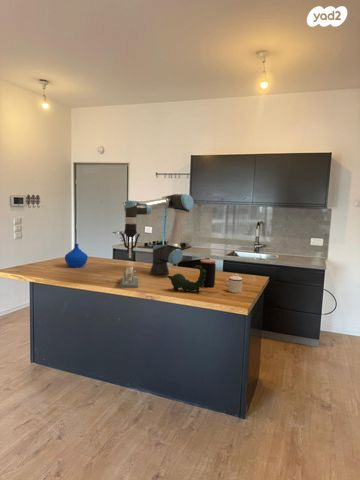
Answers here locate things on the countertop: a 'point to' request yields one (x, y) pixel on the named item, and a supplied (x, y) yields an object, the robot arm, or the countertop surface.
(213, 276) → the coffee jar
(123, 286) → the base board
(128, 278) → the slat
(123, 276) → the front end cap
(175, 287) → the toy figurine
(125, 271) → the back end cap
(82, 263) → the vase
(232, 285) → the teacup with lid
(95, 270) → the countertop surface
